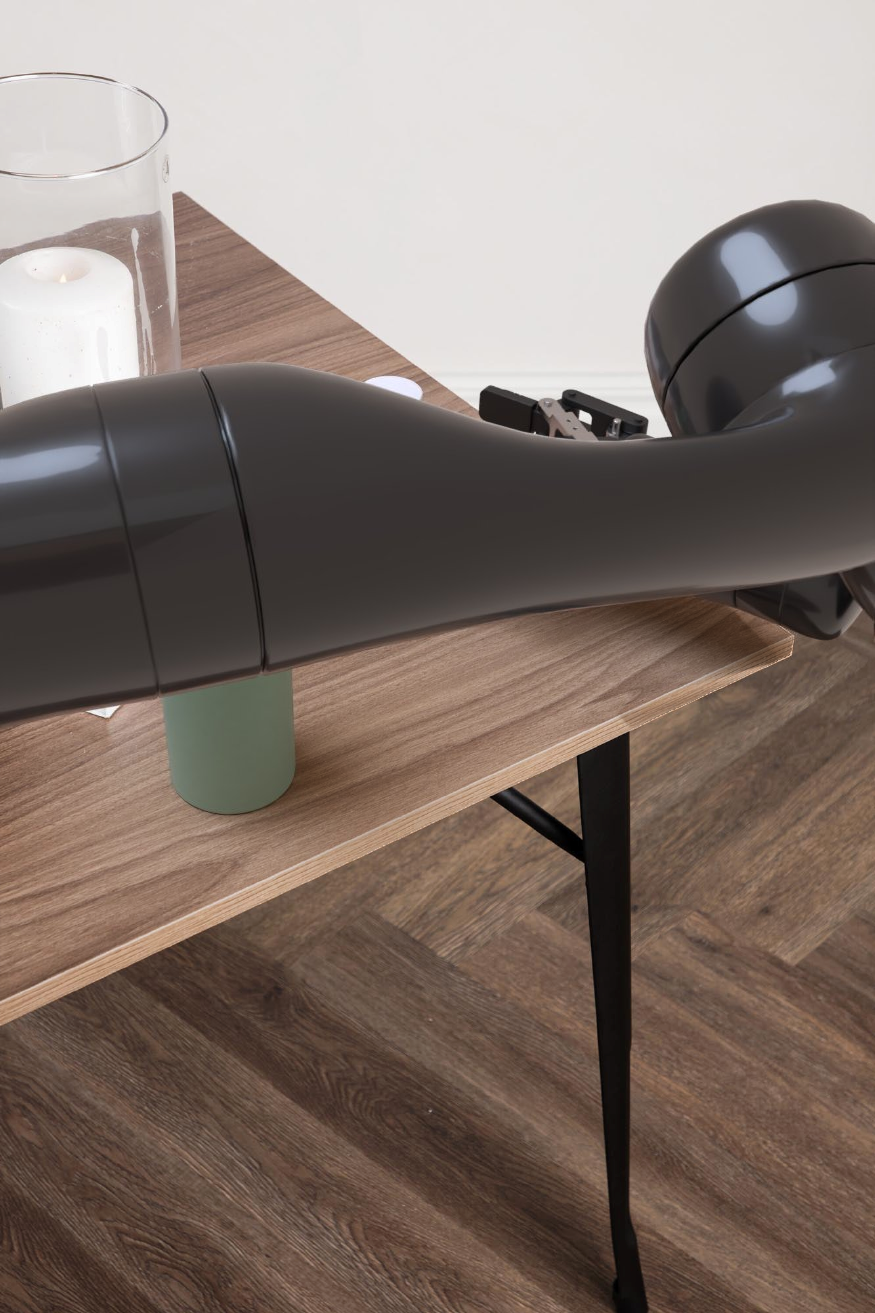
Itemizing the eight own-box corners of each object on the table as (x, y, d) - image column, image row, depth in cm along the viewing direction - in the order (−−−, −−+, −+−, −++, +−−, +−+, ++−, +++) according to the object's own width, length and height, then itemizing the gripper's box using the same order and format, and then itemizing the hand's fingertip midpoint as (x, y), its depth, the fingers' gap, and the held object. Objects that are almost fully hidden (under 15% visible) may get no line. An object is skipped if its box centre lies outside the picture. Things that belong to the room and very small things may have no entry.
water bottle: (202, 832, 70) (170, 513, 57) (150, 752, 74) (110, 439, 61) (317, 785, 72) (310, 472, 60) (261, 711, 76) (244, 403, 64)
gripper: (750, 410, 81) (509, 328, 88) (638, 526, 72) (377, 426, 79) (728, 517, 86) (500, 433, 93) (620, 639, 77) (376, 536, 84)
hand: (444, 430), depth 86 cm, fingers open, 8 cm apart
